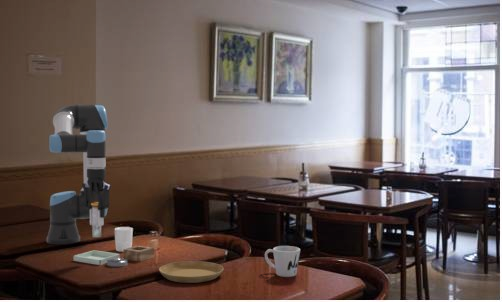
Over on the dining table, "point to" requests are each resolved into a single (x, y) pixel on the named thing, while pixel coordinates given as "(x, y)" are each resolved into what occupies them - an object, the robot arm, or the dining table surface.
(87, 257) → the tray
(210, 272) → the plant saucer
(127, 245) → the white cup
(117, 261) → the pulley wheel
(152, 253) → the socket block
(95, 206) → the glass jar
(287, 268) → the mug
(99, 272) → the dining table surface
